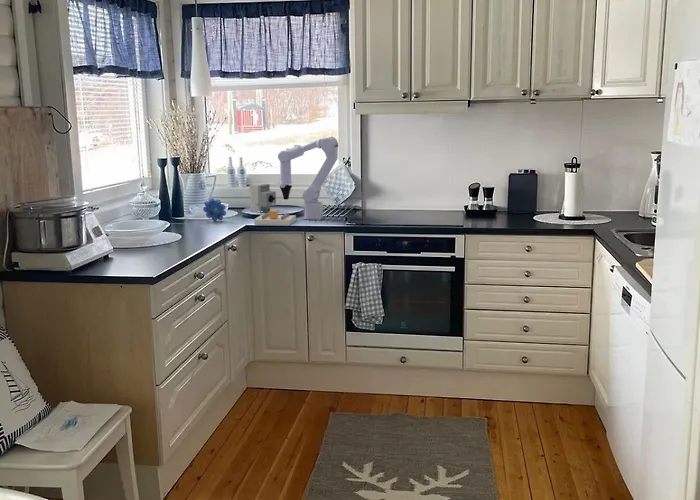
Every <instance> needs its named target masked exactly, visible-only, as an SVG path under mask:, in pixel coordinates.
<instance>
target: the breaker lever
mask: <svg viewBox="0 0 700 500" xmlns="http://www.w3.org/2000/svg"><path fill="white" fill-rule="evenodd" d="M268 212H269V218H278V215H279V210H273V209H270V211H268Z"/></svg>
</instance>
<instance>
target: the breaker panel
mask: <svg viewBox="0 0 700 500" xmlns="http://www.w3.org/2000/svg"><path fill="white" fill-rule="evenodd" d="M296 217H297V215H295V214H294V215H292V214H290V212H288V211H287V212H285V213H284V214H278V218H269V211H267V212H265V214H260V215H259V216H257V217H256V218H254V225H265V226H268V225H269V226H290V225H292V224H293V223H294V222H295V221H296V220H297V218H296Z"/></svg>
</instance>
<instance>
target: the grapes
mask: <svg viewBox="0 0 700 500" xmlns="http://www.w3.org/2000/svg"><path fill="white" fill-rule="evenodd" d="M202 210H203V212H204V213H206V214H205V216H206V218H208V219H211V220H212V222H216V221H222V220H223V219H224V216H225V217H226V215H227V212H226V205H225V204H223V203H222V202H221V200H220V199H216V200H215V199H214V198H212V197H211V198H209V200H206V201H204V207H203V209H202Z"/></svg>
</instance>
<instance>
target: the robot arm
mask: <svg viewBox="0 0 700 500" xmlns="http://www.w3.org/2000/svg"><path fill="white" fill-rule="evenodd" d="M316 148H317V149H321V150H322V152H324V155H325V157H326V159H324V161H323V163H322V165H321V168H320V169H319V170H318V173H317V174H316V175H315V178H314V180H313V181H312V183H311V184H309V186H308V187H307V189H306V190H304V191H303V193H302V199H303V200H304V202H303V203H304V217H302V220H315V221H316V220H319V221H320V220H322V219H323V218H324V212H323V211H324V209H323V208H324V207H323V201H319V198H320V193H321V190H322V187H323V185H324V182H325V181H326V180H327V177H328V176H329V174H330V172H331V171H332V169H333V167H334V166H335V164H336V162H337V160H338V158H339V157H338V154H339V142H338V140H337V139H336V138H335V137H333V136H329V137H326V138H325V137H324V138H321V139H316V140H313V141H311V142H309V143H306V144H304V145H300V144H295V145H293V147H290V148H286V150H281V151H280V152H279V153H278V155H277V159H278V160H279V179H280V180H279V181H278V182H277V184H280V186H279V189H280V191H281V193H282V197H283V200H285V201H287V200H289V197H290V193H291V190H292V187H293V186H292V185H291V184H292V164H291V163H292V162H291V161H292V160H294V159H297V158H300V157H302V156H303V155H304V154H305V152H308V151H310V150H313V149H316Z"/></svg>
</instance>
